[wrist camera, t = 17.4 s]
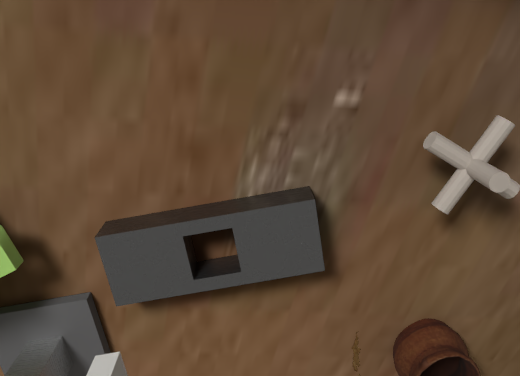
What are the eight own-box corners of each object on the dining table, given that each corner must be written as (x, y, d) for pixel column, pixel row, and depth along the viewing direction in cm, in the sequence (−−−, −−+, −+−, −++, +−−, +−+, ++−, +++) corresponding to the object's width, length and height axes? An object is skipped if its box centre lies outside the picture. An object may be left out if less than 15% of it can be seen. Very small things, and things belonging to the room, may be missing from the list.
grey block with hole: (105, 221, 50) (94, 237, 46) (309, 186, 49) (314, 199, 45) (125, 286, 52) (116, 306, 48) (318, 253, 52) (324, 270, 48)
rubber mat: (-14, 309, 52) (-21, 317, 51) (90, 292, 52) (86, 299, 51) (22, 393, 56) (16, 402, 55) (119, 377, 56) (115, 386, 55)
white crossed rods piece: (383, 169, 49) (417, 203, 39) (440, 86, 46) (492, 100, 37) (457, 213, 51) (506, 255, 41) (516, 135, 48) (583, 161, 39)
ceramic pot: (340, 401, 59) (355, 448, 52) (364, 277, 53) (384, 311, 47) (475, 406, 61) (506, 452, 54) (512, 286, 55) (551, 320, 48)
